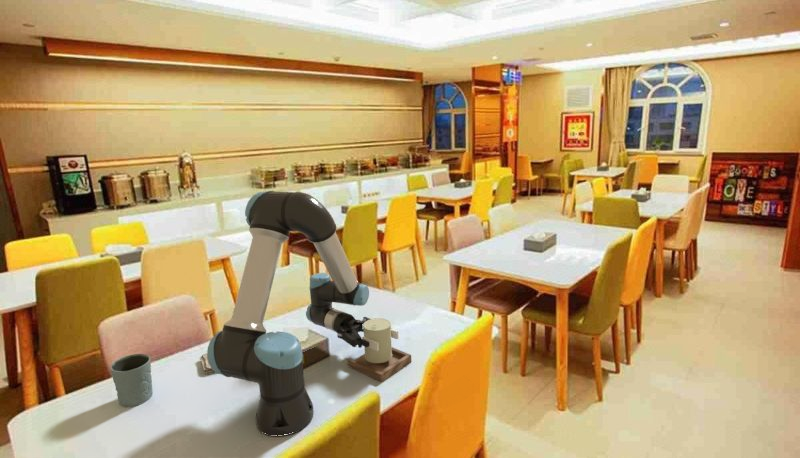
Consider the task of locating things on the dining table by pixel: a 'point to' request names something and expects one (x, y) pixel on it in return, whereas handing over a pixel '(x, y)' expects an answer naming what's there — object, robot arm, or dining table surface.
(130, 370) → the grey embossed cup
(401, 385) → the dining table surface
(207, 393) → the dining table surface
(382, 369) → the tray
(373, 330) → the can
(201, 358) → the washcloth
